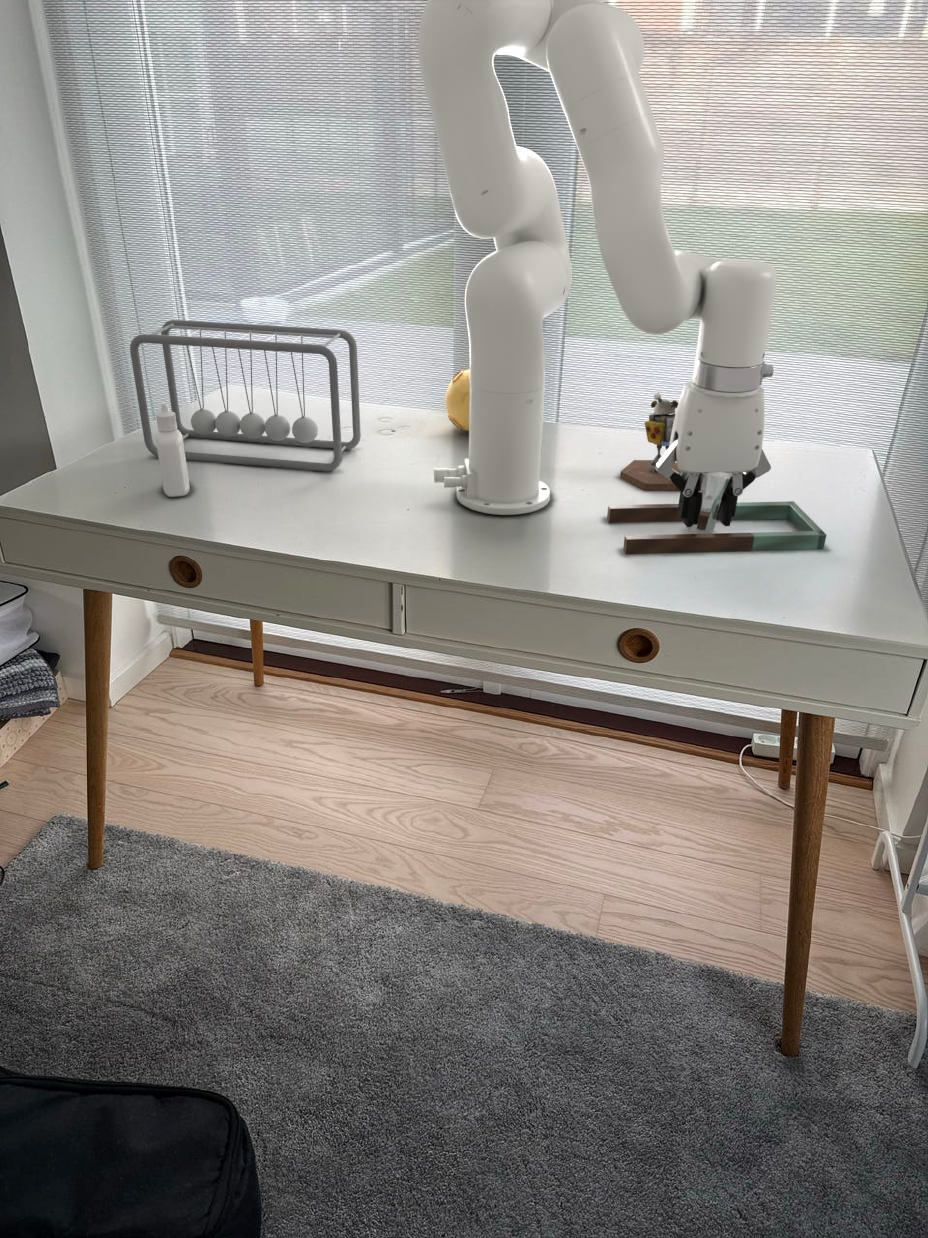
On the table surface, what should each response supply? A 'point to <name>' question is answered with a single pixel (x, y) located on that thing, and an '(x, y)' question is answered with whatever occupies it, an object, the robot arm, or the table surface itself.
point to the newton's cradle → (251, 422)
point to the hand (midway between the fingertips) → (704, 520)
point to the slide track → (802, 539)
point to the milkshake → (709, 500)
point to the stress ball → (459, 400)
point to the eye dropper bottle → (171, 454)
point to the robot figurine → (660, 435)
